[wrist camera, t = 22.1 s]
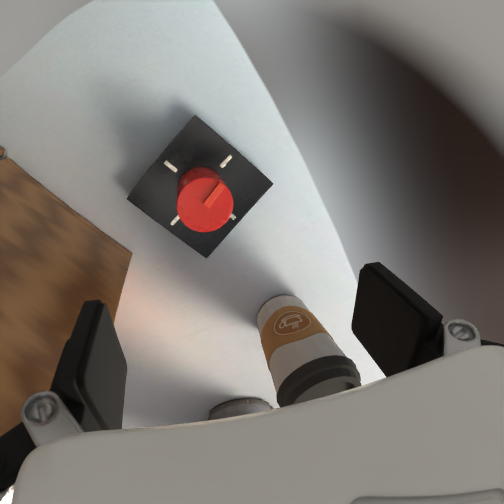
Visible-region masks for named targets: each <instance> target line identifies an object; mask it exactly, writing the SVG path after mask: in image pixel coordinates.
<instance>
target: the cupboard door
mask: <svg viewBox="0 0 504 504" xmlns="http://www.w3.org/2000/svg"><path fill="white" fill-rule="evenodd" d="M4 151H5V149H4V148H2V147H1V146H0V158H2V156H3V153H4Z"/></svg>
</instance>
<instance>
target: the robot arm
mask: <svg viewBox="0 0 504 504" xmlns="http://www.w3.org/2000/svg"><path fill="white" fill-rule="evenodd" d="M442 318H443V316H442V315H441V314H440V313H439V312H438V311H437V310H436V309H435V308H433V307H432V306H431V305H430V304H429V303H427V301H425V300H424V299H423V298H422V297H421V296H420V295H418V294H417V293H416V292H415V291H414V290H412V289H411V288H410V287H409V286H408V285H406V284H405V283H404V282H403V281H402V280H401V279H399V278H398V277H397V276H395V274H393V273H392V272H391V271H390V270H388V269H387V268H386V267H385V266H384V265H382V264H381V263H380V262H375V263H369V264H365V265H364V267H363V268H362V269H361V270H360V273H359V281H358V288H357V294H356V301H355V307H354V313H353V319H352V331H353V333H354V335H355V336H356V337H357V339H358V340H359V341H360V343H361V344H362V345H363V346H364V348H365V349H366V350H367V352H368V353H369V354H370V356H371V357H372V358H373V360H374V361H375V362H376V364H377V365H378V366H379V368H380V369H381V370H382V372H383V373H384V374H385V376H386V377H387V378H384V379H381V380H378V381H375V382H372V383H369V384H366V385H363V386H359V387H356V388H353V389H350V390H346V391H343V392H339V393H336V394H333V395H329V396H325V397H322V398H318V399H314V400H310V401H306V402H302V403H298V404H294V405H290V406H285V407H281V408H276V409H272V410H267V411H262V412H257V413H251V414H246V415H241V416H235V417H229V418H223V419H216V420H209V421H202V422H194V423H185V424H176V425H167V426H157V427H145V428H131V429H122V419H123V406H124V394H125V384H126V374H127V364H126V360H125V357H124V354H123V351H122V349H121V346H120V343H119V340H118V337H117V334H116V331H115V328H114V325H113V322H112V319H111V315H110V312H109V309H108V306H107V304H106V303H102V302H101V300H100V299H99V300H89V301H85V302H84V303H83V306H82V308H81V311H80V313H79V316H78V318H77V321H76V324H75V326H74V329H73V331H72V334H71V337H70V339H68V340H67V341H66V343H65V346H64V349H63V351H62V354H61V357H60V360H59V363H58V366H57V369H56V372H55V375H54V378H53V381H52V384H51V387H50V390H49V391H47V390H43V391H38V392H35V393H33V394H31V395H30V396H29V397H27V398H26V400H25V401H24V402H23V404H22V406H21V411H20V415H21V419H22V422H21V423H19V424H18V425H16V426H15V427H14V428H12V429H11V430H9V431H8V432H6V433H5V434H3V435H2V436H1V437H0V504H504V345H503V344H499V343H494V342H490V341H485V340H481V339H480V336H479V332H478V330H477V329H476V327H475V326H474V325H472V324H471V323H469V322H467V321H464V320H461V319H451V320H449V321H447V322H446V323H445V325H443V324H442V323H441V321H442Z"/></svg>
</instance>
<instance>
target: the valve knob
mask: <svg viewBox="0 0 504 504" xmlns="http://www.w3.org/2000/svg"><path fill="white" fill-rule="evenodd" d="M232 210H233V198H232V195H231V192H230V190H229V189H228V188H227V186H226V185H225V183H224V182H223V180H222V179H221V178H220V176H219V175H218V174H217V173H216V172H215V171H213V170H211V169H209V168H205V167H197V168H193V169H191V170H189V171H187V172H186V173H185V174H184V175H183V176H182V177H181V179H180V180H179V183H178V186H177V212H178V215H179V218H180V219H181V221H182V222H183V223H184V224H185V225H186V226H187V227H188V228H190V229H192V230H194V231H198V232H210V231H214V230H216V229H218V228H220V227H221V226H223V225H224V224H225V223H226V222H227V221H228V219H229V218H230V216H231V213H232Z"/></svg>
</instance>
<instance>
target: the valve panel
mask: <svg viewBox="0 0 504 504" xmlns="http://www.w3.org/2000/svg"><path fill="white" fill-rule="evenodd" d="M197 167H205V168H209V169H211V170H213V171H215V172H216V173H217V174H218V175H219V176H220V178H221V179H222V180H223V182H224V183H225V185H226V186H227V188H228V189H229V190H230V192H231V195H232V198H233V210H232V213H231V216H230V218H229V219H228V221H227V222H226V223H225V224H224V225H223V226H221V227H220V228H218V229H216V230H214V231H210V232H198V231H194V230H192V229H190V228H188V227H187V226H186V225H185V224H184V223H183V222H182V221H181V219H180V218H179V215H178V212H177V186H178V183H179V180H180V179H181V177H182V176H183V175H184V174H185V173H186V172H187V171H189V170H191V169H193V168H197ZM272 185H273V183H272V182H271V181H270V180H269V179H268V178H267V177H266V176H265V175H263V174H262V173H261V172H260V171H259V170H258V169H257V168H256V167H255V166H254V165H252V164H251V163H250V162H249V161H248V160H247V159H246V158H245V157H244V156H242V155H241V154H240V153H239V152H238V151H237V150H236V149H235V148H233V147H232V146H231V145H230V144H229V143H228V142H227V141H225V140H224V139H223V138H222V137H221V136H220V135H218V134H217V133H216V132H215V131H214V130H213V129H211V128H210V127H209V126H208V125H207V124H206V123H204V122H203V121H202V120H201V119H200V118H199V117H197V116H196V115H195V116H194V117H193V118H192V119H191V120H190V121H189V122H188V123H187V124H186V126H185V127H184V128H183V129H182V130H181V131H180V132H179V133H178V135H177V136H176V137H175V138H174V139H173V140H172V142H171V143H170V144H169V145H168V146H167V148H166V149H165V150H164V151H163V152H162V154H161V155H160V156H159V157H158V158H157V160H156V161H155V162H154V163H153V165H152V166H151V167H150V168H149V170H148V171H147V172H146V173H145V175H144V176H143V177H142V179H141V180H140V181H139V182H138V184H137V185H136V186H135V188H134V189H133V190H132V192H131V193H130V194H129V196H128V198H127V200H128V201H130V202H131V203H132V204H134V205H135V206H136V207H138V208H139V209H140V210H142V211H143V212H144V213H146V214H147V215H148V216H150V217H151V218H152V219H154V220H155V221H156V222H158V223H159V224H160V225H162V226H163V227H164V228H166V229H167V230H168V231H170V232H171V233H172V234H174V235H175V236H176V237H178V238H179V239H181V240H182V241H183V242H185V243H186V244H187V245H189V246H190V247H191V248H193V249H194V250H196V251H197V252H198V253H200V254H201V255H202V256H204V257H205V258H207V257H208V256H209V255H210V254H211V253H212V252H213V250H214V249H215V248H216V247H217V246H218V245H219V244H220V243H221V241H222V240H223V239H224V238H225V237H226V236H227V235H228V234H229V232H230V231H231V230H232V229H233V228H234V227H235V226H236V225H237V223H238V222H239V221H240V220H241V219H242V218H243V217H244V216H245V215H246V213H247V212H248V211H249V210H250V209H251V208H252V207H253V206H254V205H255V203H256V202H257V201H258V200H259V199H260V198H261V197H262V196H263V195H264V194H265V192H266V191H267V190H268V189H269V188H270V187H271V186H272Z"/></svg>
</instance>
